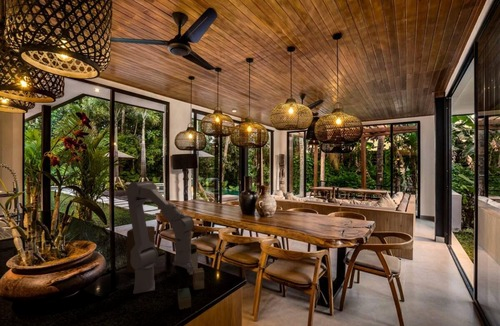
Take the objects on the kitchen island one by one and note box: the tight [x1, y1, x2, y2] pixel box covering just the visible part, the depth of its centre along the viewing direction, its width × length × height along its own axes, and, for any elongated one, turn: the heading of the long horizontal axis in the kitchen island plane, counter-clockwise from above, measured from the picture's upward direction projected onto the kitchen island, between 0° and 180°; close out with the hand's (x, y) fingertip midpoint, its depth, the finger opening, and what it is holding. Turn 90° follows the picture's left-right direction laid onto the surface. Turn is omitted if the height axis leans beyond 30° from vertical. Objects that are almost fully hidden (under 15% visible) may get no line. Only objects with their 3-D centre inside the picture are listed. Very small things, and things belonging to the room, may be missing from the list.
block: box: [126, 225, 156, 274], centre depth 123 cm, size 10×10×20 cm
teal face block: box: [177, 287, 192, 310], centre depth 93 cm, size 4×4×7 cm
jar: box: [189, 243, 199, 276], centre depth 121 cm, size 9×8×12 cm
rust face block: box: [192, 267, 205, 291], centre depth 106 cm, size 4×4×7 cm
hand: (183, 284), depth 96 cm, fingers closed
